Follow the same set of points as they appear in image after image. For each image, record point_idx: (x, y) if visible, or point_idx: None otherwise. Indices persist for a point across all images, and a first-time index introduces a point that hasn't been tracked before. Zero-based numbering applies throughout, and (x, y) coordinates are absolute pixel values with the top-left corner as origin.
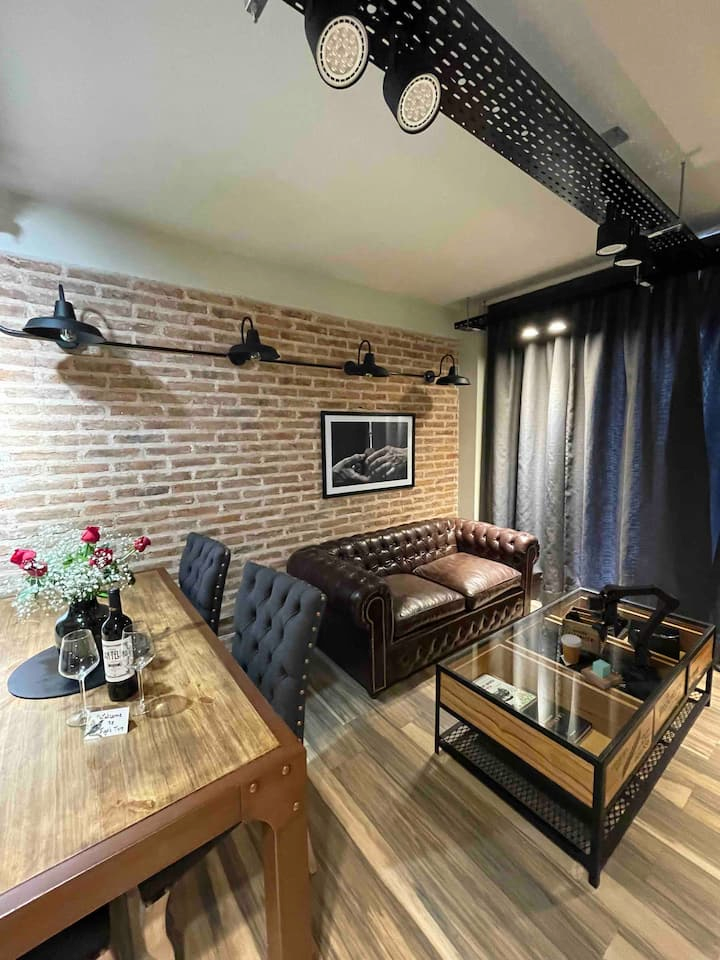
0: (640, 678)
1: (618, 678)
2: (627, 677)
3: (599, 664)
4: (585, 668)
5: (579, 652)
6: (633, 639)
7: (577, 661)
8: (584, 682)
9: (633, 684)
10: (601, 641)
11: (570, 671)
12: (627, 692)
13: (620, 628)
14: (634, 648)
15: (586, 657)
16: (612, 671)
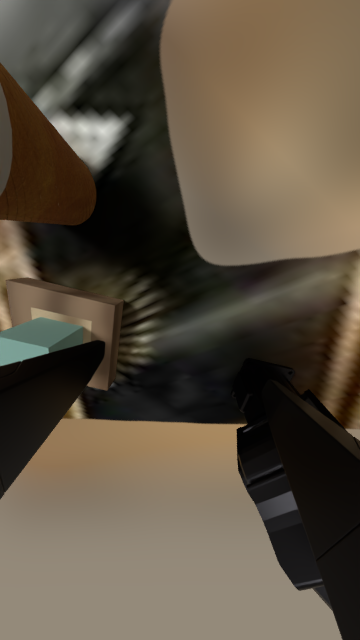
0: (175, 401)
1: (88, 385)
2: (150, 379)
3: (7, 361)
4: (30, 287)
5: (32, 219)
6: (293, 496)
7: (66, 224)
8: (6, 307)
9: (131, 398)
10: (94, 342)
11: (4, 238)
12: (84, 399)
13: (344, 602)
14: (243, 449)
15: (149, 228)
16: (107, 360)
